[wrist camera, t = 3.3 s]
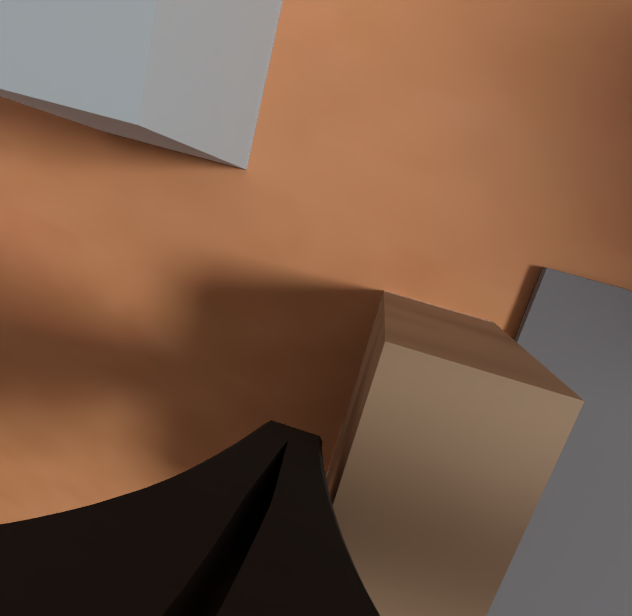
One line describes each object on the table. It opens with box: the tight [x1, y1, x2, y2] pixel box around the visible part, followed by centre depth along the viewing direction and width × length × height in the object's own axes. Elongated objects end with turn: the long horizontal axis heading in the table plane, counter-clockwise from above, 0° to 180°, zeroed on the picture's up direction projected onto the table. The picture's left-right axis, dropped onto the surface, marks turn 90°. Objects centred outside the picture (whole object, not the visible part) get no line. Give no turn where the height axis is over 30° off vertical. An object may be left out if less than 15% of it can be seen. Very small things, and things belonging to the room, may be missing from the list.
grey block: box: [0, 0, 283, 170], centre depth 10 cm, size 5×5×6 cm
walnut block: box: [326, 291, 584, 616], centre depth 11 cm, size 8×4×6 cm, turn 165°
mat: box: [486, 267, 632, 616], centre depth 13 cm, size 12×7×1 cm, turn 165°
